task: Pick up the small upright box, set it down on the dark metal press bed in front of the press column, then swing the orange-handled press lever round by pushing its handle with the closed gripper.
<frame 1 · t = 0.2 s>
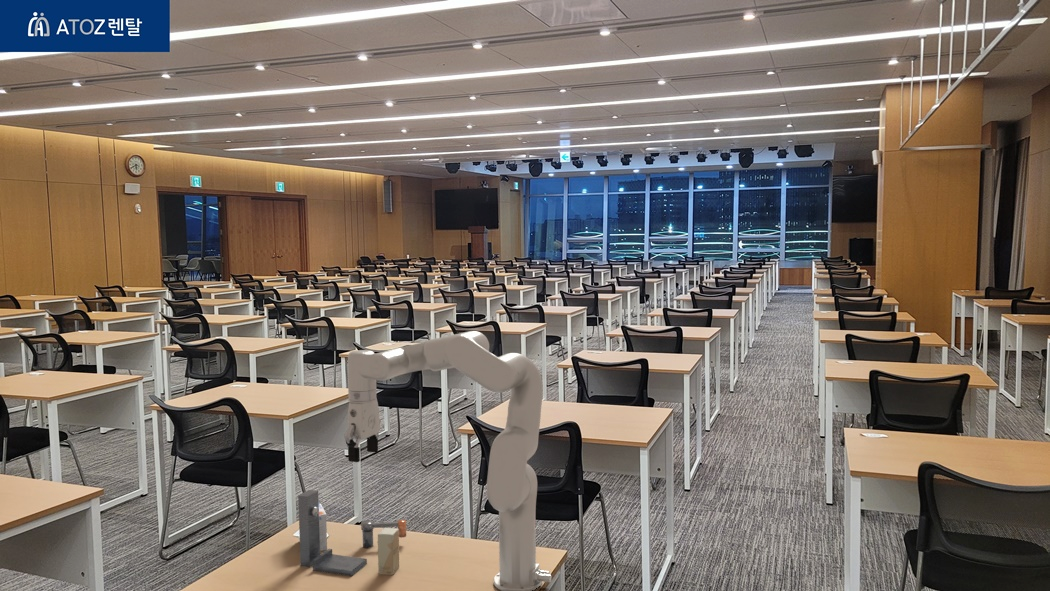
hand: (363, 456, 203), 30 cm above the table, tool pointing down, fingers open, 9 cm apart
lever: (383, 529, 216), point 5 cm above the table, hinge at 25.0°
box: (389, 571, 199), on the table
lever post: (368, 546, 216), on the table
press: (340, 567, 202), on the table
light bulb box: (313, 546, 217), on the table
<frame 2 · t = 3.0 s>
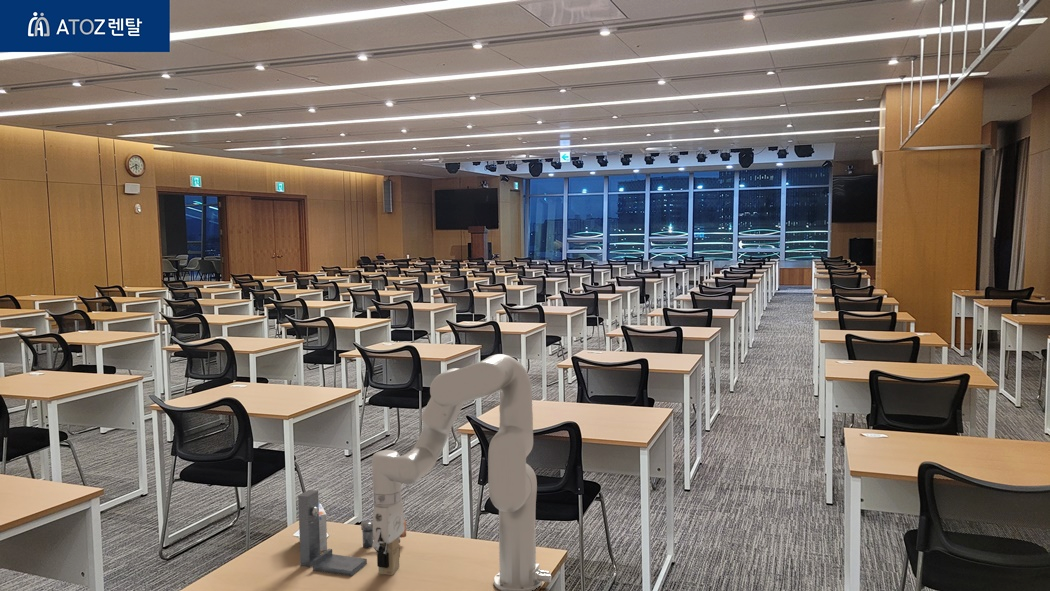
hand: (388, 561, 199), 3 cm above the table, tool pointing down, fingers closed on box, 5 cm apart
box: (389, 571, 200), on the table, touching gripper
everything else where it was.
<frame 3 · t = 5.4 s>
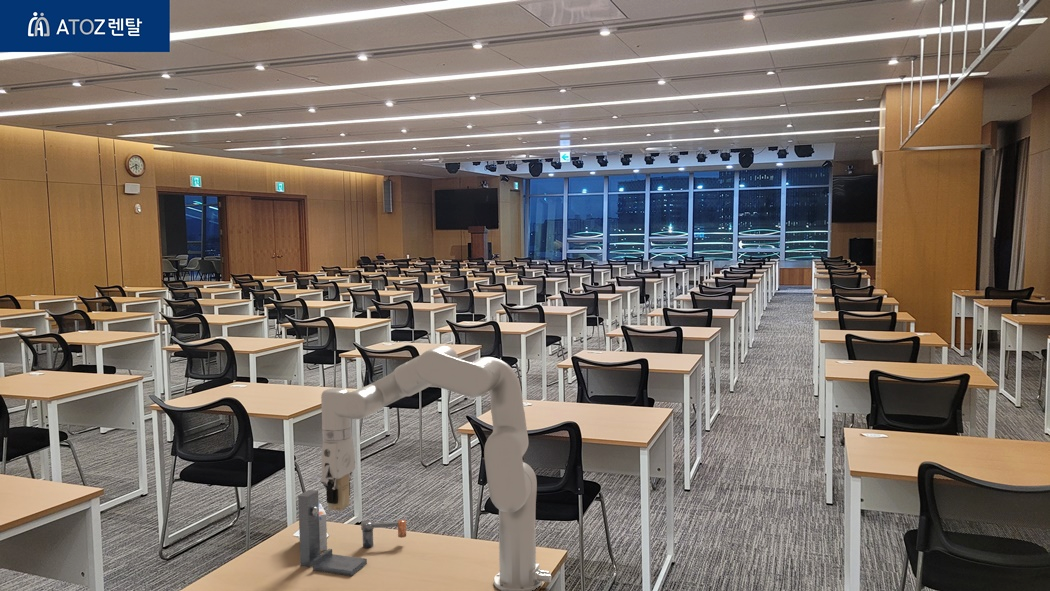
hand: (338, 498, 201), 19 cm above the table, tool pointing down, fingers closed on box, 5 cm apart
box: (339, 508, 201), point 17 cm above the table, touching gripper
everything else where it was.
when the fingers open (6 cm above the table, at t = 7.8 s): box drops 2 cm, resting on press.
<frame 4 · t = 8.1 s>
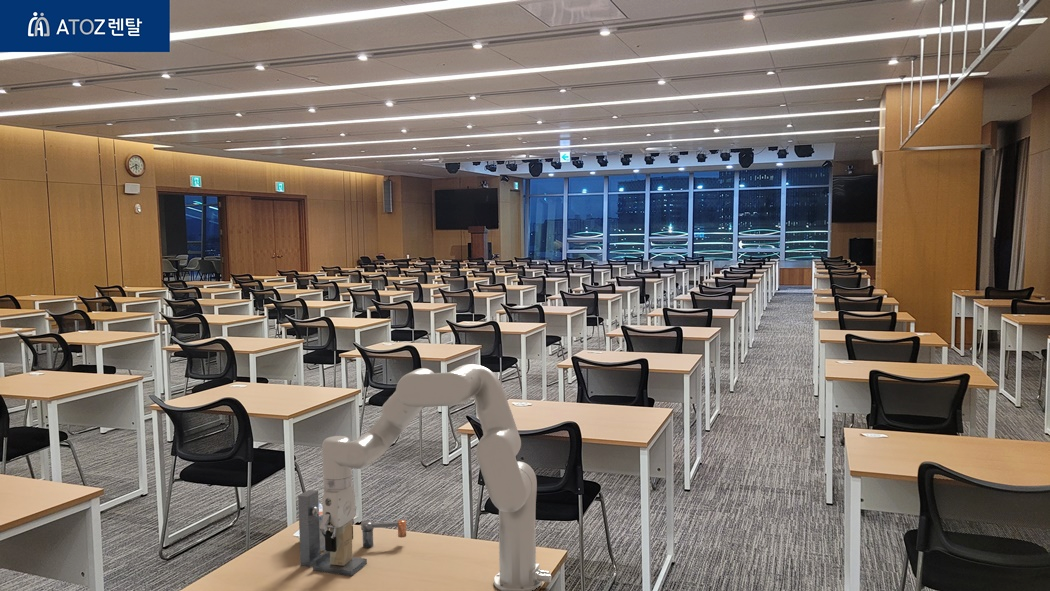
hand: (339, 544, 202), 6 cm above the table, tool pointing down, fingers open, 7 cm apart
box: (341, 562, 202), point 1 cm above the table, touching press
everything else where it was.
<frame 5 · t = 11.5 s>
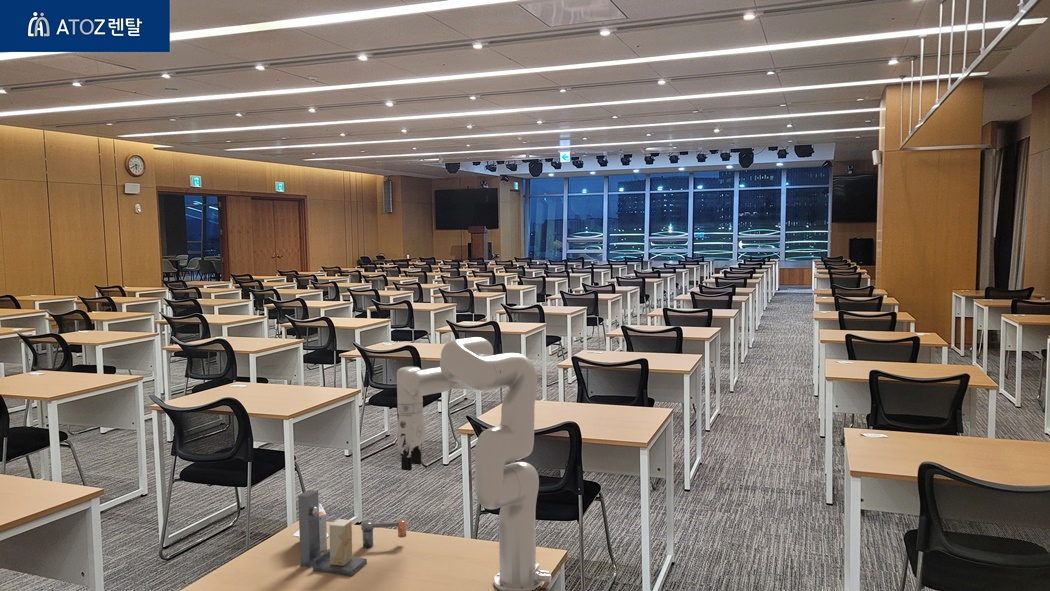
hand: (411, 466, 222), 22 cm above the table, tool pointing down, fingers open, 5 cm apart
nothing on the table moved.
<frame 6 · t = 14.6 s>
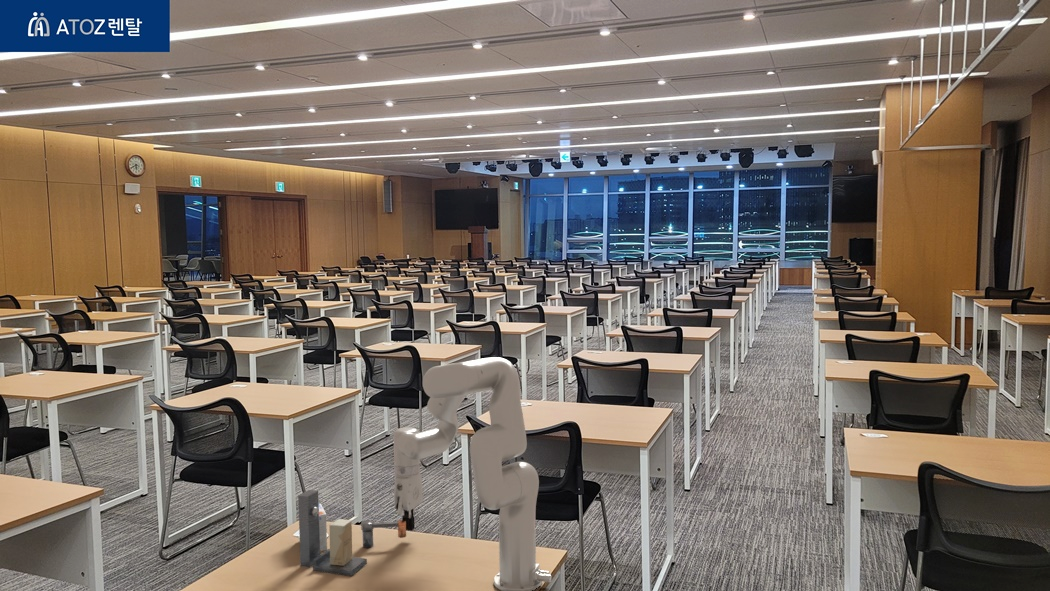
hand: (408, 529, 220), 3 cm above the table, tool pointing down, fingers closed
lever: (383, 529, 216), point 5 cm above the table, hinge at 23.8°, touching gripper
everything else where it was.
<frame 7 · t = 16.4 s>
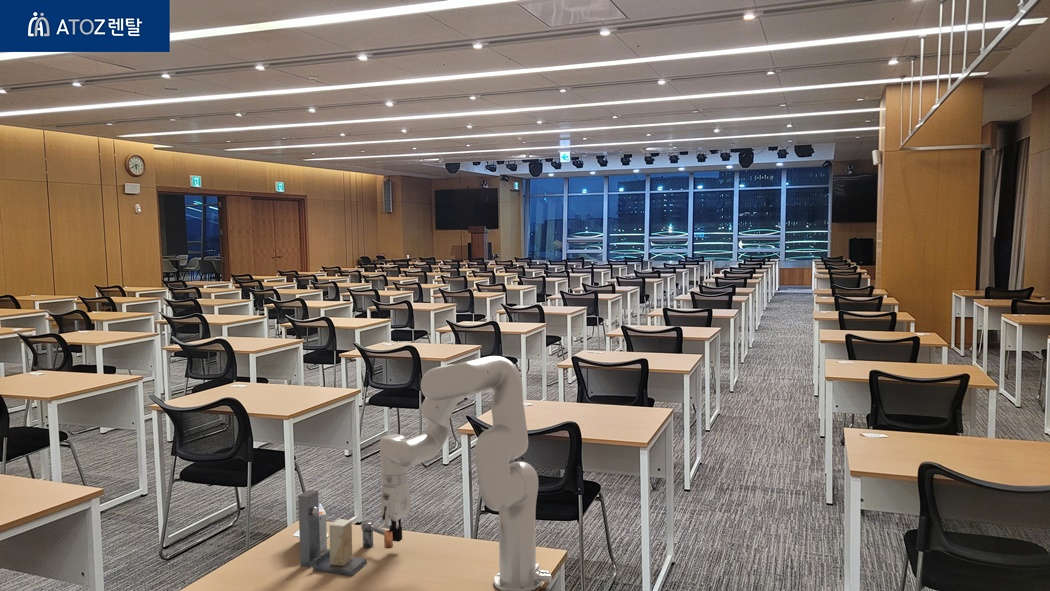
hand: (396, 540, 213), 3 cm above the table, tool pointing down, fingers closed
lever: (377, 534, 213), point 5 cm above the table, hinge at -24.3°, touching gripper
everything else where it was.
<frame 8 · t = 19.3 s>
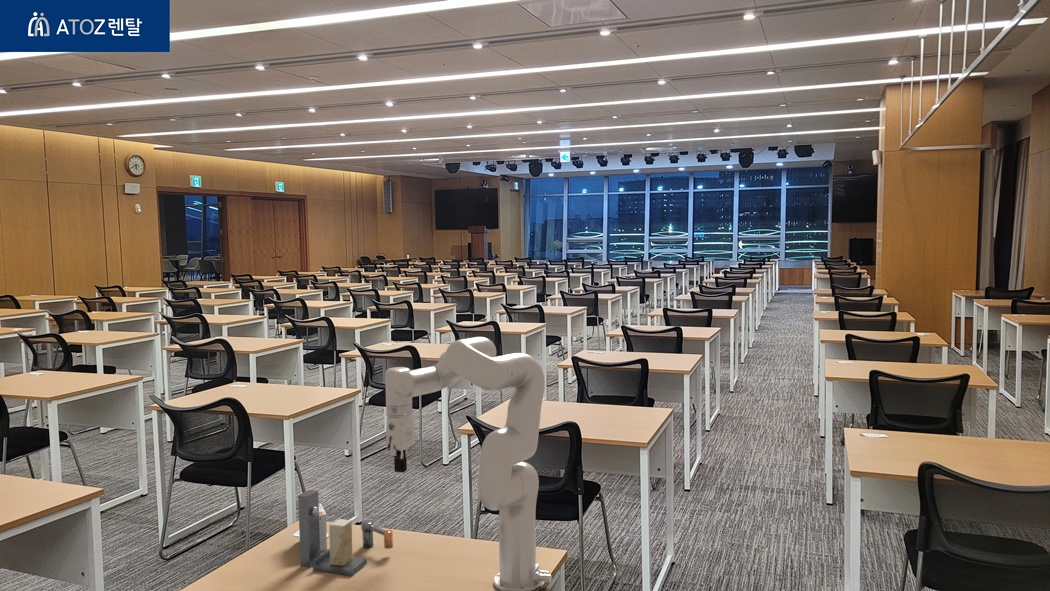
hand: (400, 471, 216), 22 cm above the table, tool pointing down, fingers closed
lever: (377, 534, 213), point 5 cm above the table, hinge at -24.5°
everything else where it was.
at the end: box inside the target area on the press (0.4 cm from its centre), point 1.3 cm above the press's base; box tilted 0°; lever at -24° (first picture: +25°) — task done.
